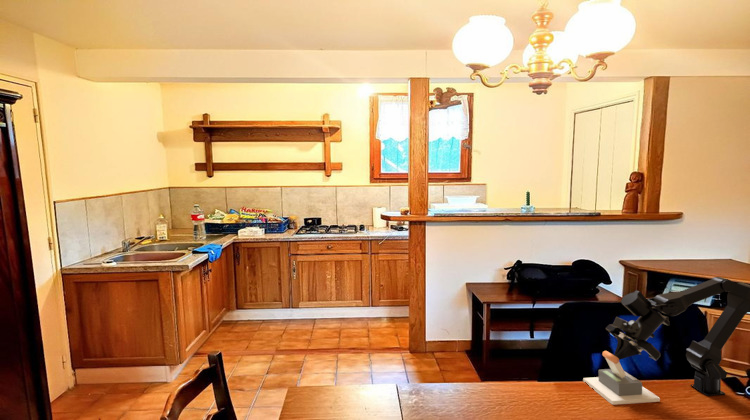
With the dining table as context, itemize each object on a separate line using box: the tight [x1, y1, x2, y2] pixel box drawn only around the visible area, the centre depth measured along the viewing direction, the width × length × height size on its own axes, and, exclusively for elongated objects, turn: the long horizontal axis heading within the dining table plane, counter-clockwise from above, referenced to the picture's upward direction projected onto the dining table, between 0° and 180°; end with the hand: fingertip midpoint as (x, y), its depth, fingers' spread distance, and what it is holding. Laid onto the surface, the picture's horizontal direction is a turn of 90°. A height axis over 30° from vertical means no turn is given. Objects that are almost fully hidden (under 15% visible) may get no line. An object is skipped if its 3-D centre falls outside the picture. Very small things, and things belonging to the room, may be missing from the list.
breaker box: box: [582, 368, 661, 406], centre depth 130 cm, size 16×15×5 cm
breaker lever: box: [601, 350, 626, 378], centre depth 129 cm, size 2×5×8 cm, turn 5°
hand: (614, 359), depth 129 cm, fingers closed, pressing on breaker lever
